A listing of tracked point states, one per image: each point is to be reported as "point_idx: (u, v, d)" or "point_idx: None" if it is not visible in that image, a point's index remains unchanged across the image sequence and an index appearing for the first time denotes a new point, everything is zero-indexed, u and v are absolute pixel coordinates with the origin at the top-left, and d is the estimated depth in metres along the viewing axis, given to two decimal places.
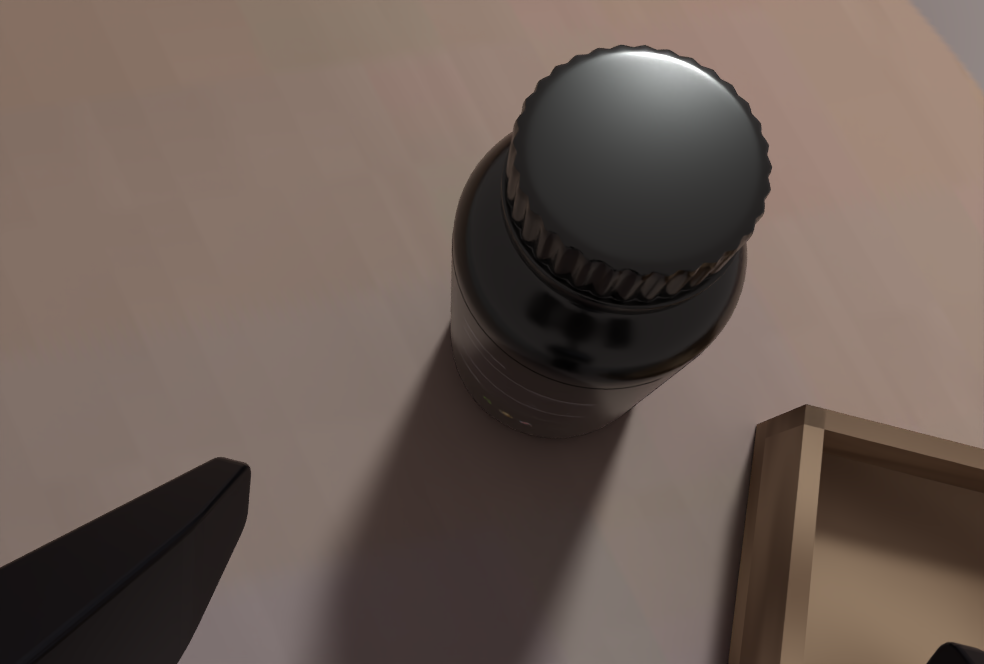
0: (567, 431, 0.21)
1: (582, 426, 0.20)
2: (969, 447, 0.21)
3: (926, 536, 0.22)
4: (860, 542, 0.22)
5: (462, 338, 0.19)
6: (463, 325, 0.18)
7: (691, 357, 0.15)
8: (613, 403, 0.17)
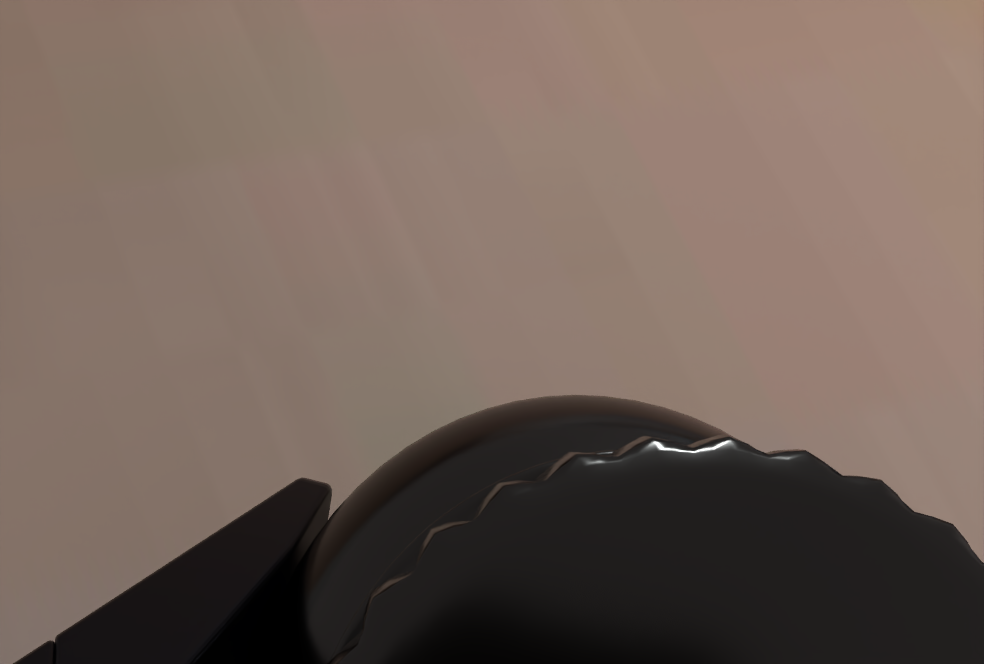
0: None
1: None
2: None
3: None
4: None
5: None
6: None
7: None
8: None
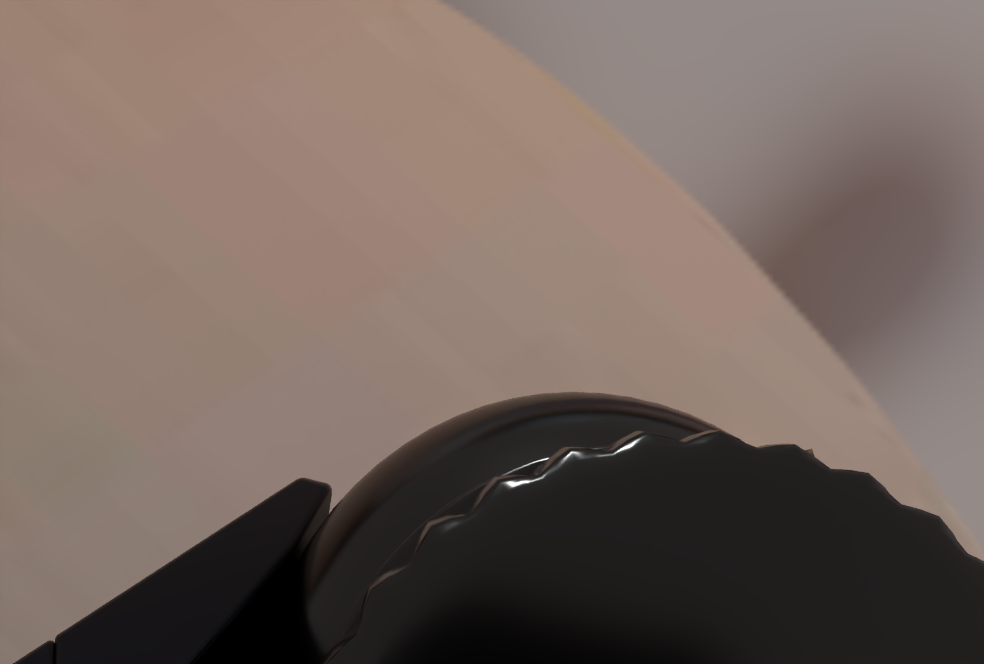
0: None
1: None
2: None
3: None
4: None
5: None
6: None
7: None
8: None
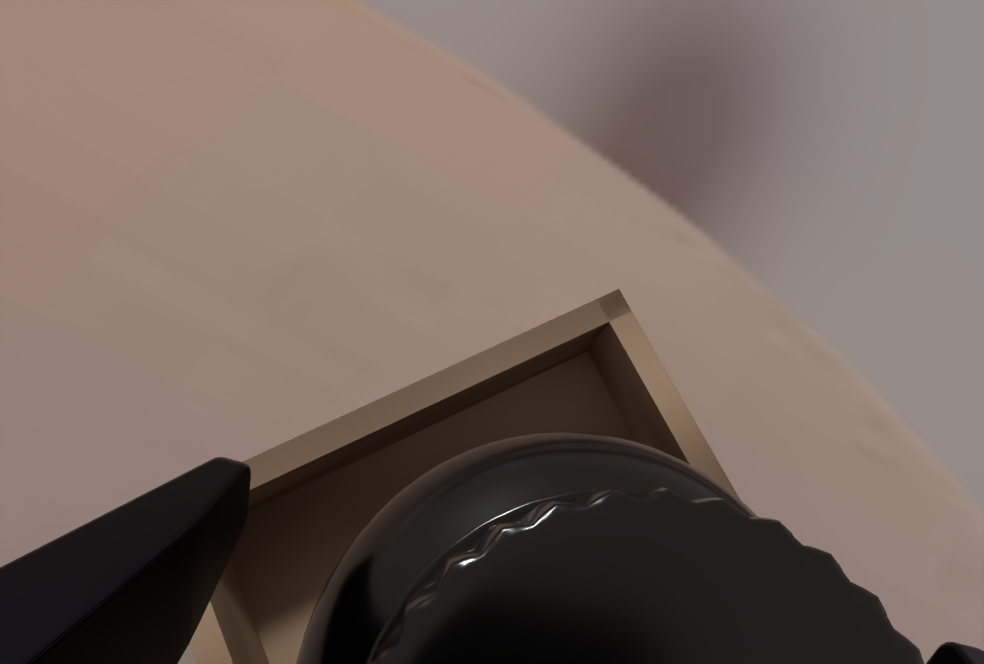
0: None
1: None
2: (368, 407, 0.15)
3: None
4: None
5: None
6: None
7: None
8: None
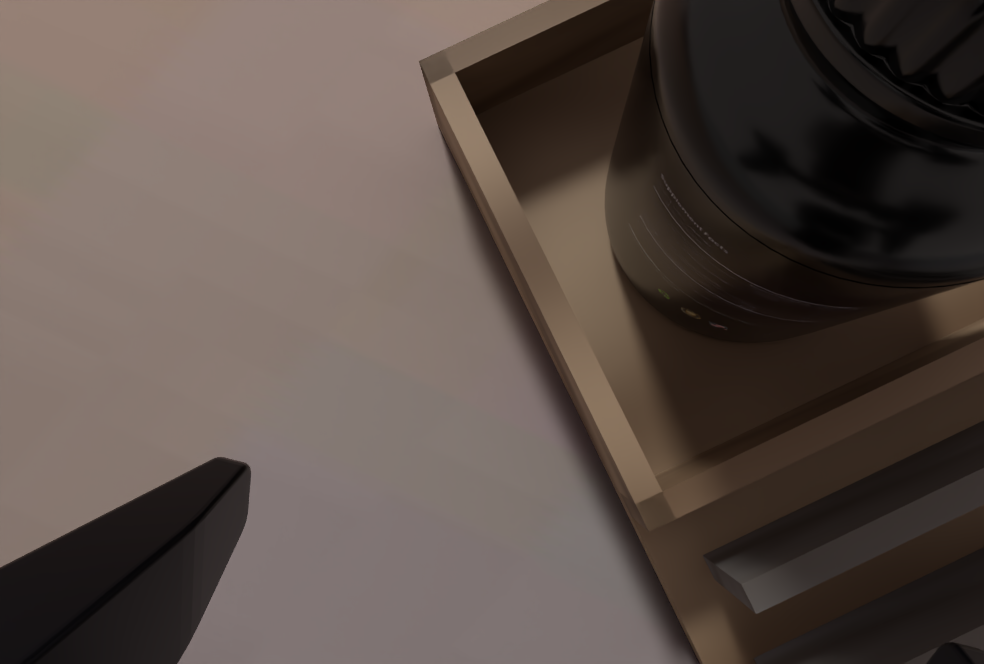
0: (777, 336, 0.15)
1: (805, 331, 0.14)
2: None
3: None
4: (604, 159, 0.18)
5: (643, 207, 0.13)
6: (653, 187, 0.11)
7: None
8: (894, 305, 0.11)
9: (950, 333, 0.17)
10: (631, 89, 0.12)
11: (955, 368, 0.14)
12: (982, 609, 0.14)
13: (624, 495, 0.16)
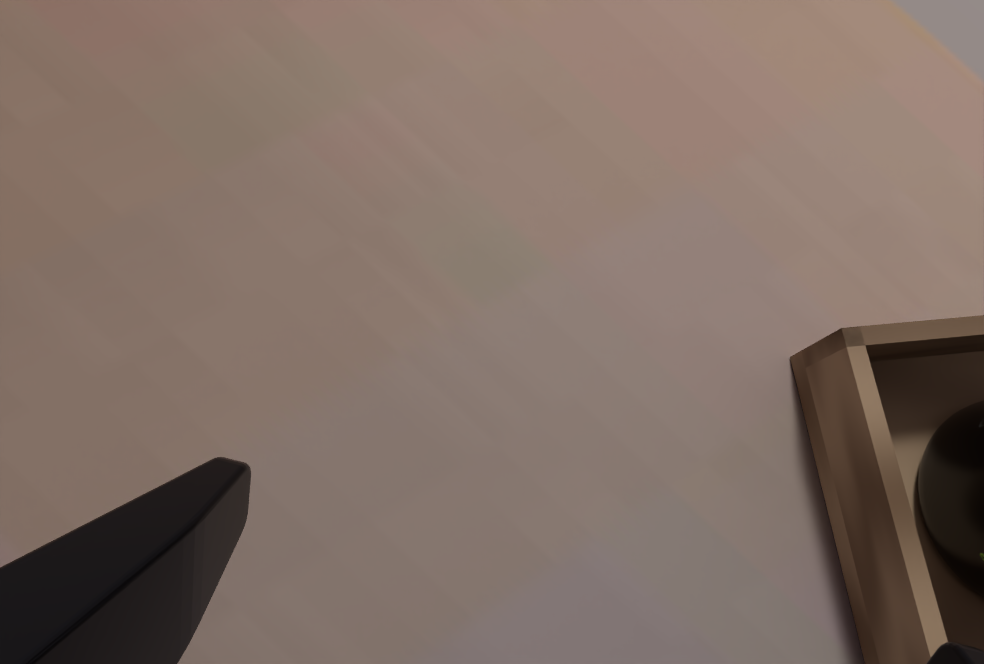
0: None
1: None
2: None
3: None
4: (919, 431, 0.23)
5: None
6: None
7: None
8: None
9: None
10: None
11: None
12: None
13: None
